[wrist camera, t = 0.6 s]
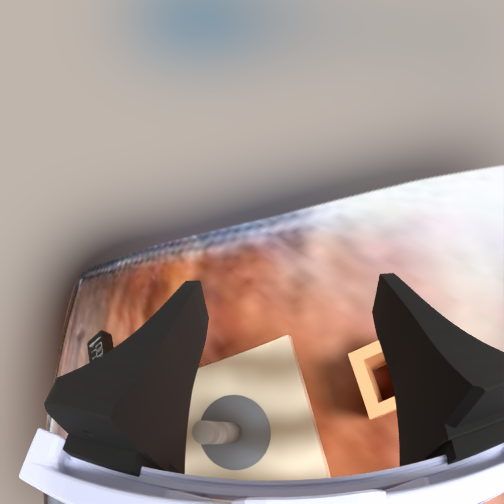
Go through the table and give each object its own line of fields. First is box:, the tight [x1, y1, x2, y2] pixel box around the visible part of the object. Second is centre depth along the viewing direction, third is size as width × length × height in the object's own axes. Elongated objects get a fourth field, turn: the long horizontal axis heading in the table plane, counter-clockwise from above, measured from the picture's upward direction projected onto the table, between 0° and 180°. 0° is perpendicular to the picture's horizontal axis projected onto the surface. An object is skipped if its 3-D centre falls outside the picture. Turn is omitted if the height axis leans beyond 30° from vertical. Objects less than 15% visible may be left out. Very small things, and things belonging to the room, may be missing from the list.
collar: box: [348, 340, 396, 419], centre depth 20 cm, size 5×5×6 cm
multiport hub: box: [87, 330, 114, 362], centre depth 38 cm, size 4×14×2 cm, turn 28°
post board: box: [185, 335, 331, 502], centre depth 24 cm, size 16×16×6 cm
